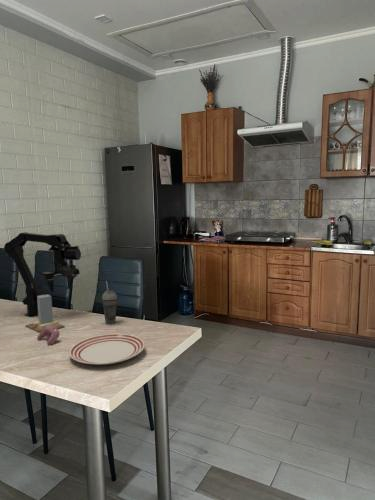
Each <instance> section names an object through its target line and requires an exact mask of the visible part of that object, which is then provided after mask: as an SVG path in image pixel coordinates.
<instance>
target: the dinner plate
mask: <svg viewBox="0 0 375 500" xmlns="http://www.w3.org/2000/svg"><path fill="white" fill-rule="evenodd" d="M145 347H146V344H145V341H144V340H143V339H142V338H140V337H138V336H136V335H134V334H133V335H132V334H126V333H125V334H124V333H107V334H100V335H95V336H94V335H93V336H91V337H88V338H84V339H83V340H80V341H79V342H77V343H75V344H74V345H73V346H71V347H70V349H69V352H68V354H69V357H70V358H71V359H72V360H73V361H75V362H78V363H80V364H81V363H82V364H87V365H97V366H99V365H101V366H102V365H112V364H116V363H117V364H118V363H122V362H125V361H127V360H130V359H133V358H135V357H136V356H138V355H139V354H140V353H142V352H143V351H144V350H145Z"/></svg>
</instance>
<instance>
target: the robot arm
mask: <svg viewBox="0 0 375 500" xmlns="http://www.w3.org/2000/svg"><path fill="white" fill-rule="evenodd" d="M27 242H34V243H42V244H43V243H44V244H46V245H49V246H51V247H50V248H48V251H50V252H52V256H53V258H52V259H53V261H52V263H51V264H53V269H52V272H50V271H44V272H41V273H40V274H39V278H40V280H43V281H44V282H45V283H46V284H47V287H48V288H49V289H50V292H51V293H54V291H55V287H54V282H55V279H54V277H59V276H63V277H66V281H67V282H66V283H67V289H68V290H70V289H72V285H73V282H74V279H75V278H76V277H78V275H80V269H79V268H76V267H77V266H76V264H71V265H68V261H80V260H81V257H82V252H81V249H80V248H79V245H74V246H72V245H71V244H70V242H69V241H68V240H67V237H66V235H65V234H63V233H57V234H42V233H41V234H40V233H33V232H27V231H25V232H20V233H19V234H18V235H17V236H15V237H14V238H12V239H10V241H8V242H6V243H5V244H4V247H3V250H4V252H5V254H6V255H7V256H8V257H9V258H11V259H12V260H13V262H14V264H15V266H16V269H17V271H18V272H19V274H20V277H21V279H22V280H23V283H24V286H25V295H26V296H25V297H24V298H23V299H22V304H23V305H24V306H26V313H24V316H27V317H30V318H31V317H32V318H33V317H35V316H38V303H37V296H40V295H45V289H44V287H43V285H42V283H41V282H40V283H38V282H36V280H35V278H34V275H33V274H32V272H31V269H30V268H29V265H28V263H27V261H26V258H25V257H24V251H25V250H24V246H25V245H26V244H27Z"/></svg>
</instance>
